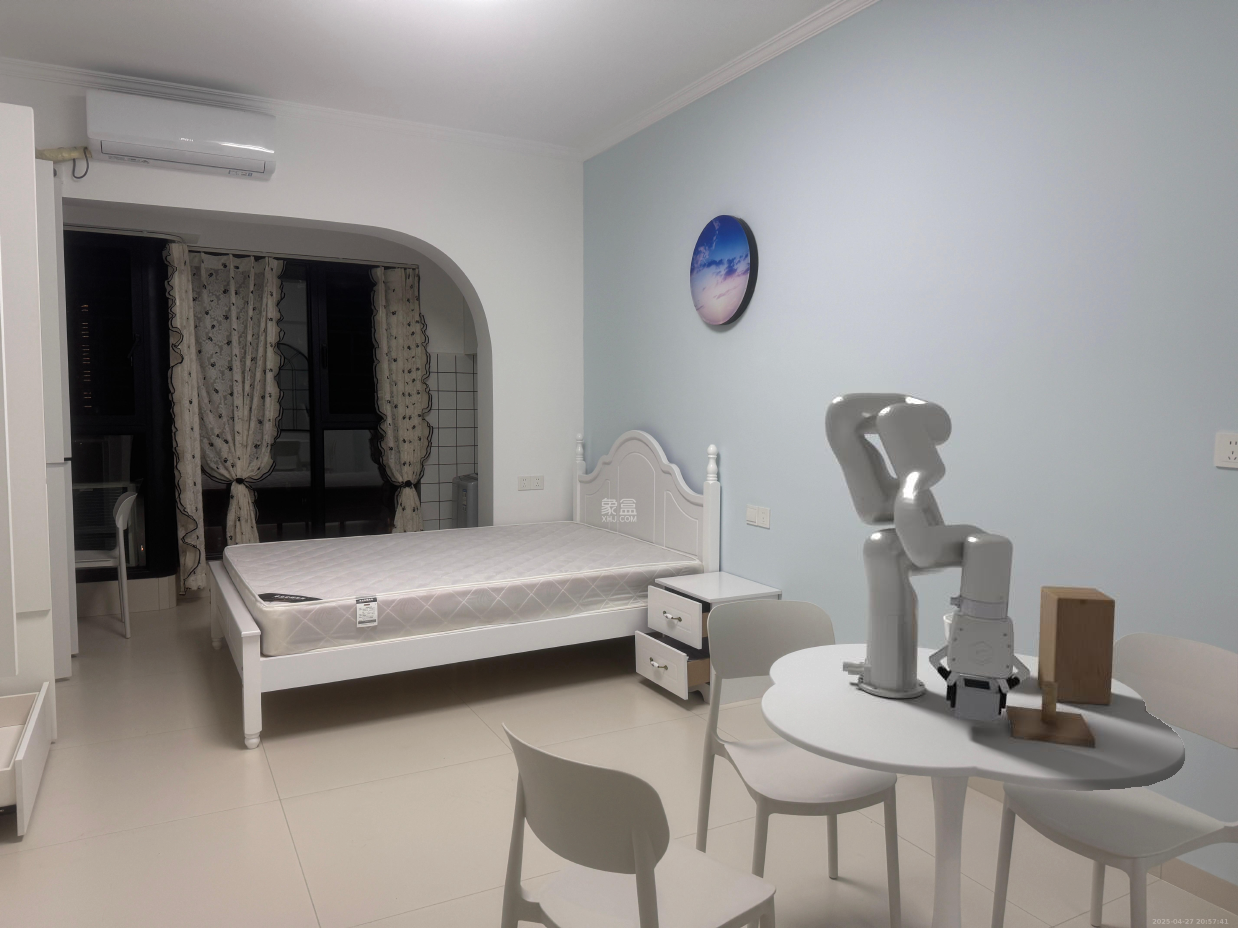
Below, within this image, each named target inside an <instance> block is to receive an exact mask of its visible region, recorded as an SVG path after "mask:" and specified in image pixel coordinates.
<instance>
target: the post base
mask: <svg viewBox="0 0 1238 928" xmlns="http://www.w3.org/2000/svg"><path fill="white" fill-rule="evenodd" d="M1041 689H1042V690H1041V693H1042V694H1041V695H1042V696H1041V708H1034V707H1024V706H1016V705H1007V704H1006V709H1005V712H1006V716H1007V719H1008V723H1009V726H1010V730H1011V733H1012V735H1013V737H1012V738H1017V739H1026V740H1031V741H1032V740H1033V741H1041V742H1049V743H1056V744H1057V743H1058V744H1063V745H1073V746H1081V747H1087V748H1096V738H1095V737H1094V735H1093V733H1092V731H1091V729H1090V727H1089V726H1088V724H1087V722H1086V721H1085V718H1084V716H1083V715H1082V713H1078V712H1077V713H1075V712H1069V711H1068V712H1067V711H1059V710H1057V683H1055V682H1051V681H1043V687H1042V688H1041Z"/></svg>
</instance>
